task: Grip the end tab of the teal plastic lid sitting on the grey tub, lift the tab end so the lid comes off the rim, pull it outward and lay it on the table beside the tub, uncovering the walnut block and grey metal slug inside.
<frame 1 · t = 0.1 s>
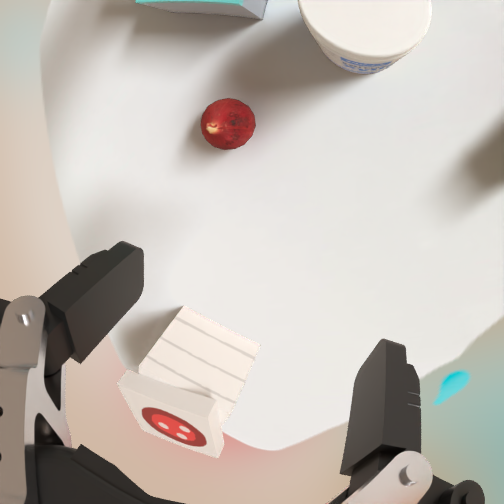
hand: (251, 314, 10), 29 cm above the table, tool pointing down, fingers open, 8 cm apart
red round fruit: (240, 120, 36), on the table
supplement tub: (360, 34, 26), on the table
pizza boxes: (206, 363, 60), on the table
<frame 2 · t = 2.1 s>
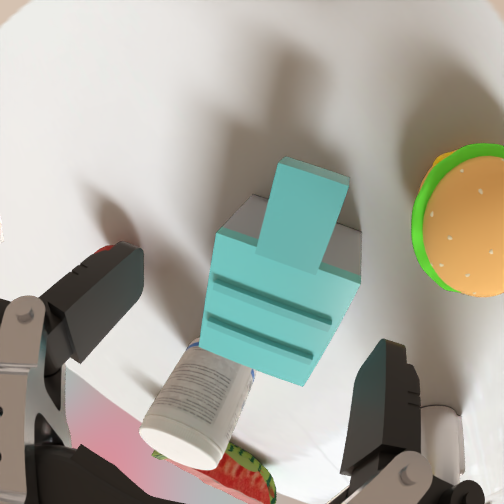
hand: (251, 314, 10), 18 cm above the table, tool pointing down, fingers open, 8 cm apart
supplement tub: (224, 358, 40), on the table
lid: (269, 314, 24), point 7 cm above the table, touching tub
tub: (289, 268, 30), on the table
hamburger: (467, 203, 22), on the table
fruit slice: (232, 447, 55), on the table
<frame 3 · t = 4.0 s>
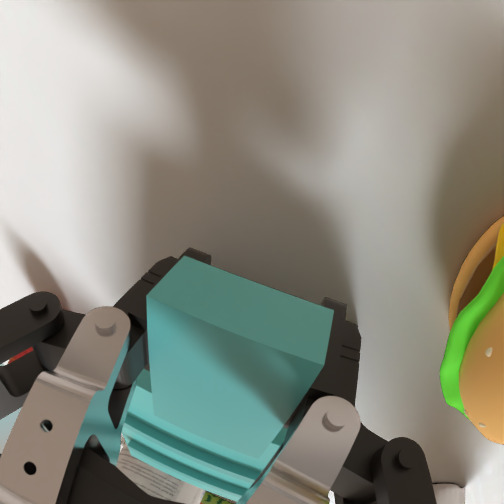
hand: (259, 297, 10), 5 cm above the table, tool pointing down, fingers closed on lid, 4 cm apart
supplement tub: (185, 430, 30), on the table
lid: (208, 450, 14), point 7 cm above the table, touching gripper, tub
fruit slice: (210, 495, 45), on the table
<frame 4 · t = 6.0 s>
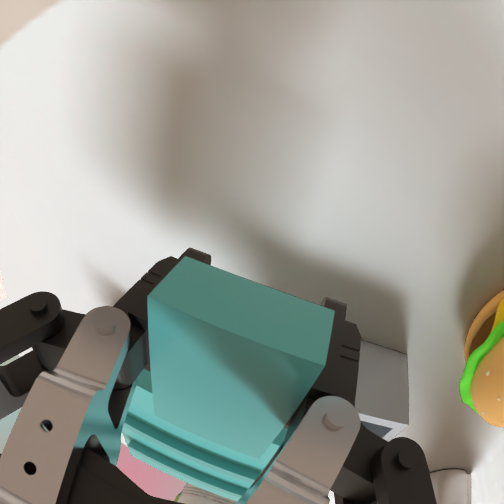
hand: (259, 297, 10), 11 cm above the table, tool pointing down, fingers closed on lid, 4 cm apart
supplement tub: (250, 435, 37), on the table
lid: (209, 450, 14), point 13 cm above the table, touching gripper
tub: (327, 379, 27), on the table
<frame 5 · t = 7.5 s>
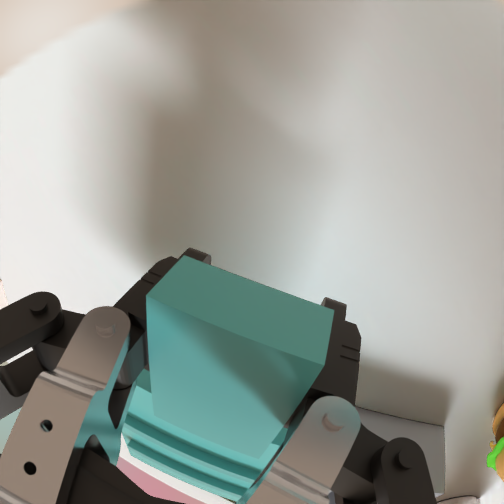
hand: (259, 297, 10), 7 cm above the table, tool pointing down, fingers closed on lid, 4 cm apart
lid: (208, 450, 14), point 9 cm above the table, touching gripper
tub: (368, 445, 25), on the table
when the fingers open (3 cm above the table, at t = 8.5 s): lid drops 5 cm, point 1 cm above the table.
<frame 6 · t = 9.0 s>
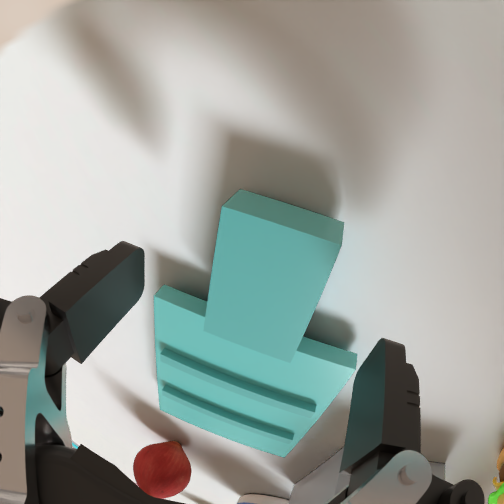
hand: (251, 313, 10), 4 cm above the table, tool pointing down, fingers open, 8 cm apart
red round fruit: (178, 441, 28), on the table
supplement tub: (275, 502, 32), on the table
lid: (237, 387, 18), point 1 cm above the table
tub: (363, 479, 22), on the table
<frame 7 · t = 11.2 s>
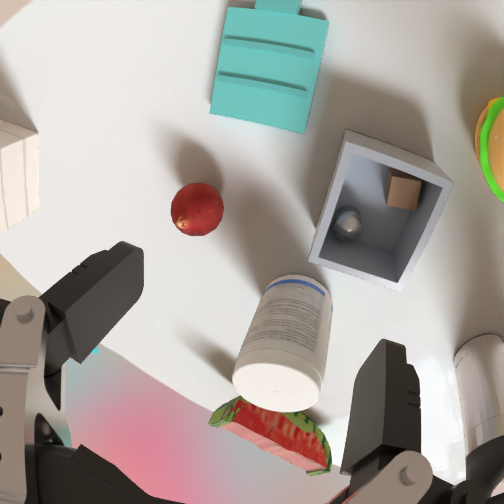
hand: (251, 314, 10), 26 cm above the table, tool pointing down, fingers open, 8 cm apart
red round fruit: (210, 196, 38), on the table
supplement tub: (299, 300, 42), on the table
lid: (268, 66, 27), point 1 cm above the table
tub: (374, 196, 32), on the table
walnut block: (399, 183, 29), point 1 cm above the table, touching tub
pizza boxes: (4, 156, 45), on the table
metal slug: (348, 217, 33), point 1 cm above the table, touching tub
fruit slice: (285, 410, 57), on the table
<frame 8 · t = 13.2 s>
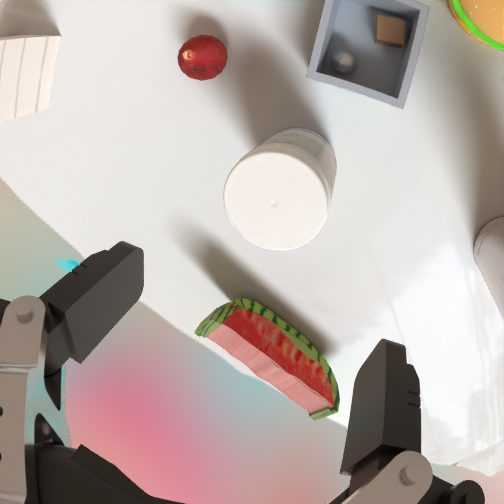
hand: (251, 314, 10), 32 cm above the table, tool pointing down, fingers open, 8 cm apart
red round fruit: (215, 59, 35), on the table
supplement tub: (300, 163, 39), on the table
tub: (366, 47, 29), on the table
hamburger: (481, 11, 21), on the table
walnut block: (388, 34, 27), point 1 cm above the table, touching tub
pizza boxes: (22, 68, 43), on the table
metal slug: (344, 63, 30), point 1 cm above the table, touching tub
fruit slice: (285, 333, 54), on the table
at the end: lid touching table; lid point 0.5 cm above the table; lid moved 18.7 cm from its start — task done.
